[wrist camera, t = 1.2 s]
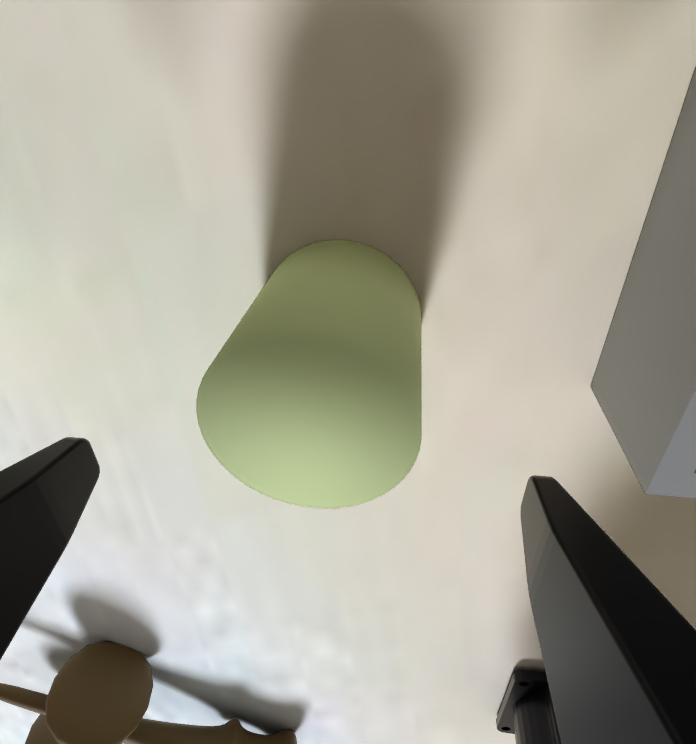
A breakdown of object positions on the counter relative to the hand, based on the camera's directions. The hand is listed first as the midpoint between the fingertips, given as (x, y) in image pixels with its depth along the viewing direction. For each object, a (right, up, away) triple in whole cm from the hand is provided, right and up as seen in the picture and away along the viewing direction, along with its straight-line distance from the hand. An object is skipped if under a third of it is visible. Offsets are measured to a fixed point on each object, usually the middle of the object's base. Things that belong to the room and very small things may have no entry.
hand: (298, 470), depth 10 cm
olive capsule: (+1, +4, +5) cm, 7 cm away
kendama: (-12, -19, +23) cm, 32 cm away
